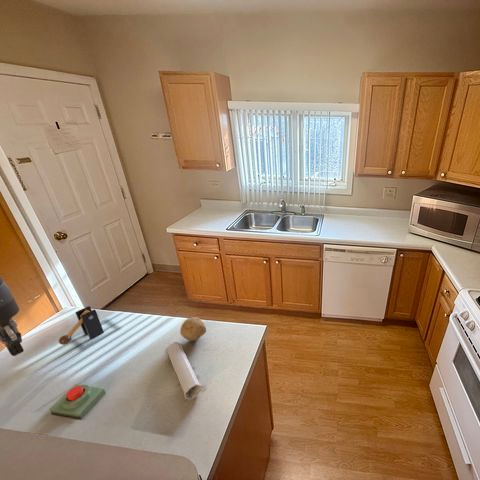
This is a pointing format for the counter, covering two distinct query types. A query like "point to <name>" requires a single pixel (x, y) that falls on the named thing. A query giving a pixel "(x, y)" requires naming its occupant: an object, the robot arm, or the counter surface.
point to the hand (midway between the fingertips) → (17, 352)
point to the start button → (75, 393)
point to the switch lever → (71, 332)
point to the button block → (78, 402)
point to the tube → (184, 371)
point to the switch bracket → (90, 322)
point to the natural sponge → (192, 329)
